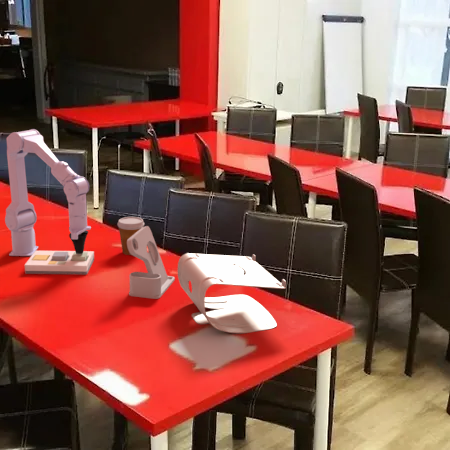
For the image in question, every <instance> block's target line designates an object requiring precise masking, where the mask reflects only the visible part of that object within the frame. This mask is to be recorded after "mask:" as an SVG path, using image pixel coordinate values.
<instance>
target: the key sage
mask: <svg viewBox="0 0 450 450" xmlns="http://www.w3.org/2000/svg"><path fill="white" fill-rule="evenodd" d="M87 258H88V252H83V254H76V252H74V254H73V255H72V261H86V260H87Z"/></svg>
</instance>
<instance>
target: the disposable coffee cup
mask: <svg viewBox="0 0 450 450" xmlns="http://www.w3.org/2000/svg"><path fill="white" fill-rule="evenodd" d="M117 227H118V231H119V236H120V237H119V238H120V243H121V248H122V249H121V250H122V254H124V255H127V256H132V255H131V254H130V252H129V250H128V247H127V240H128V239H129V238H130V237H131V236H132V235H134V234H135V233H136V232H137V231H138V230H140V229H141V228H142V227H145V222H144V219H143V218H141V217H137V216H127V217H126V216H125V217H122V218H120V219H118V222H117Z"/></svg>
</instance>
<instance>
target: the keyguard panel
mask: <svg viewBox="0 0 450 450" xmlns="http://www.w3.org/2000/svg"><path fill="white" fill-rule="evenodd" d="M55 252H68V259H67V261H52V256H53V254H54V253H55ZM74 252H76V251H75V250H36V251H35V252H34V253H33V255H32V256H29V259H28V260H27V261H26V262H25V264H24V274H25V275H27V274H28V275H34V274H35V275H88V274H89V272H90V269H91V268H92V265H93V263H94V261H95V251H91V250H90V251H89V250H88V251H87V250H84V251H83V252H88V258H87V260H86V261H72V255H73V254H74ZM35 255H49V258H48V260H47V261H43V260H32V259H33V258H34V257H35Z"/></svg>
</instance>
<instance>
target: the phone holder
mask: <svg viewBox="0 0 450 450" xmlns="http://www.w3.org/2000/svg"><path fill="white" fill-rule="evenodd" d="M127 247H128V250H129V252H130V254H131V255H130V256H133V257H135V258H137V259H138V260H139V259H140V260H141V261H143V263H144V265H145V268H146V271H147V272H144V271H133V272H131V273H129V276H128V277H129V292H128V295H129V296H130V297H137V298H138V297H139V298H143V299H144V298H146V299H154V300H156V299H160V298H161V297H162V296H163V295H164V294H165V292H167V290H168V289H169V288H170V286H171V285H172V284H173V283H174V282H175V279H176V278H175V276H172V275H168V274H167V271H166V267H165V266H164V262H163V260H162V257H161V254H160V252H159V250H158V246H157V243H156V241H155V238H154V236H153V232H152V230H151V228H150V226H149V225H146V226H145V225H144V226H143V227H142V228H141V229H140V230H138V231H137V232H136V233H135V234H134V235H132V236H131V237H130V238H129V239H128V240H127Z"/></svg>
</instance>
